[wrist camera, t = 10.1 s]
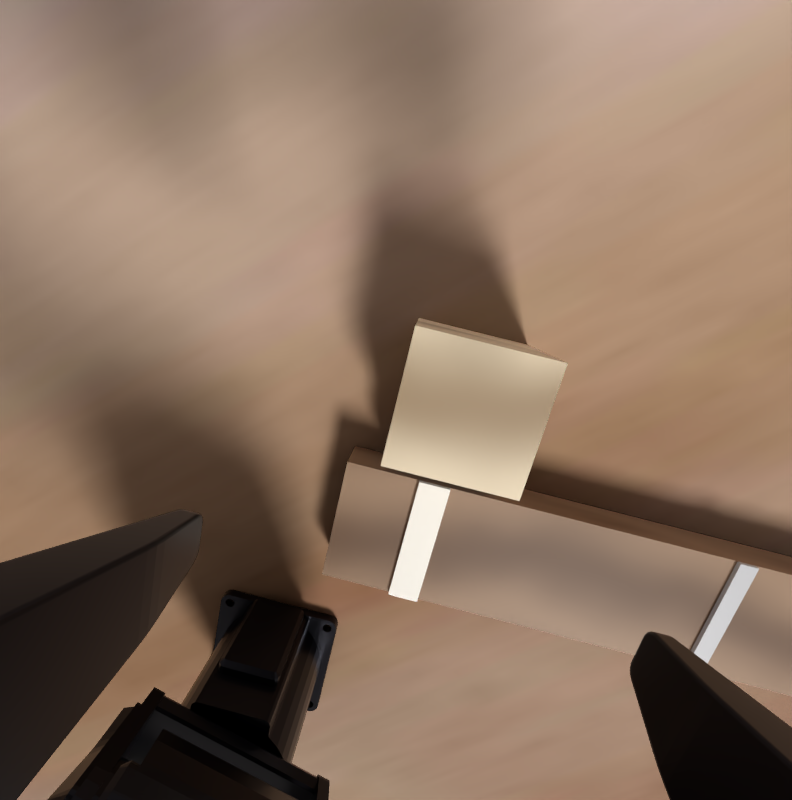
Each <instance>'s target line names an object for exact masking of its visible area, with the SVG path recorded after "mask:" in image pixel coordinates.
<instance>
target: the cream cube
mask: <svg viewBox="0 0 792 800" xmlns="http://www.w3.org/2000/svg"><path fill="white" fill-rule="evenodd" d="M567 364H568V363H566V362H564V361H562V360H560V359H558V358H555V357H553V356H551V355H549V354H547V353H545V352H542V351H540V350H538V349H536V348H534V347H531V346H529V345H527V344H523V343H519V342H515V341H511V340H507V339H503V338H499V337H495V336H491V335H486V334H482V333H478V332H474V331H470V330H466V329H462V328H458V327H454V326H450V325H446V324H442V323H438V322H434V321H430V320H426V319H422V318H419V319H418V321H417V323H416V325H415V329H414V333H413V337H412V341H411V345H410V349H409V353H408V357H407V361H406V365H405V369H404V373H403V377H402V381H401V385H400V389H399V393H398V397H397V401H396V405H395V410H394V414H393V418H392V422H391V426H390V430H389V434H388V438H387V442H386V446H385V450H384V454H383V458H382V462H381V466H383V467H387V468H391V469H395V470H399V471H403V472H407V473H410V474H414V475H418V476H422V477H426V478H430V479H434V480H438V481H442V482H446V483H450V484H454V485H458V486H462V487H466V488H470V489H473V490H477V491H481V492H485V493H489V494H493V495H497V496H501V497H505V498H509V499H513V500H517V501H520V498H521V495H522V493H523V490H524V487H525V484H526V481H527V478H528V475H529V473H530V470H531V467H532V464H533V461H534V458H535V456H536V453H537V450H538V447H539V444H540V441H541V438H542V436H543V433H544V430H545V427H546V424H547V421H548V418H549V416H550V413H551V410H552V407H553V404H554V401H555V398H556V396H557V393H558V390H559V387H560V384H561V381H562V378H563V376H564V373H565V370H566V367H567Z"/></svg>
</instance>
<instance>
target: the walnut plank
mask: <svg viewBox="0 0 792 800" xmlns="http://www.w3.org/2000/svg"><path fill="white" fill-rule="evenodd" d="M383 454H384V453H381V452H377V451H373V450H369V449H365V448H361V447H357V446H355V448H354V450H353V452H352V454H351V456H350V458H349V460H348V462H347V466H346V470H345V475H344V479H343V484H342V488H341V492H340V497H339V501H338V506H337V510H336V515H335V519H334V524H333V528H332V533H331V537H330V542H329V546H328V550H327V555H326V559H325V564H324V568H323V573H322V574H323V575H327V576H331V577H335V578H338V579H342V580H346V581H350V582H354V583H358V584H361V585H365V586H369V587H373V588H377V589H381V590H384V591H388V592H389V593H388V595H392V596H396V597H400V598H404V599H407V600H411V601H415V602H417V600H418V599H419V600H423V601H427V602H431V603H434V604H438V605H442V606H446V607H450V608H454V609H458V610H461V611H465V612H469V613H473V614H477V615H481V616H484V617H488V618H492V619H496V620H500V621H504V622H507V623H511V624H515V625H519V626H523V627H527V628H531V629H534V630H538V631H542V632H546V633H550V634H554V635H557V636H561V637H565V638H569V639H573V640H577V641H580V642H584V643H588V644H592V645H596V646H600V647H604V648H607V649H611V650H615V651H619V652H623V653H627V654H630V655H635V653H636V651H637V649H638V647H639V645H640V643H641V641H642V639H643V637H644V635H645V634H646V633H647V632H651V631H653V632H657V633H661V634H665V635H669V636H671V637H673V638H674V639H676V640H677V641H679V642H680V643H681V644H682V645H684V646H685V647H686V648H688V649H689V650H690V651H692V652H693V653H694V654H696V655H697V656H698V657H700V658H701V659H702V660H704V661H705V662H706V663H707V664H709V665H710V666H711V667H713V668H714V669H715V670H717V671H718V672H719V673H721V674H722V675H723V676H725V677H726V678H727V679H729V680H730V681H734V682H738V683H742V684H746V685H750V686H753V687H757V688H761V689H765V690H769V691H773V692H777V693H780V694H784V695H788V696H792V557H790V556H786V555H782V554H778V553H774V552H770V551H766V550H762V549H758V548H754V547H750V546H746V545H743V544H739V543H735V542H731V541H727V540H723V539H719V538H715V537H711V536H707V535H703V534H699V533H695V532H691V531H687V530H684V529H680V528H676V527H672V526H668V525H664V524H660V523H656V522H652V521H648V520H644V519H640V518H636V517H632V516H628V515H625V514H621V513H617V512H613V511H609V510H605V509H601V508H597V507H593V506H589V505H585V504H581V503H577V502H573V501H569V500H566V499H562V498H558V497H554V496H550V495H546V494H542V493H538V492H534V491H530V490H526V489H524V490H523V493H522V495H521V498H520V501H517V500H513V499H509V498H505V497H501V496H497V495H493V494H489V493H485V492H481V491H477V490H473V489H470V488H466V487H462V486H458V485H454V484H450V483H446V482H442V481H438V480H434V479H430V478H426V477H422V476H418V475H414V474H410V473H407V472H403V471H399V470H395V469H391V468H387V467H383V466H381V462H382V458H383Z"/></svg>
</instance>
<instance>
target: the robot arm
mask: <svg viewBox="0 0 792 800" xmlns="http://www.w3.org/2000/svg"><path fill="white" fill-rule="evenodd" d="M202 524H203V518H202V515H201V514H200V513H196V512H192V511H189V510H185V509H180V510H176V511H173V512H169V513H166V514H163V515H159V516H156V517H153V518H149V519H146V520H143V521H139V522H136V523H133V524H129V525H126V526H123V527H119V528H116V529H112V530H109V531H106V532H102V533H99V534H96V535H92V536H89V537H86V538H82V539H79V540H76V541H72V542H69V543H65V544H62V545H59V546H55V547H52V548H49V549H45V550H42V551H39V552H35V553H32V554H29V555H25V556H22V557H18V558H15V559H12V560H8V561H5V562H2V563H0V800H17V798H18V797H19V796H20V794H21V793H22V792H23V791H24V789H25V788H26V787H27V786H28V784H29V783H30V782H31V781H32V779H33V778H34V777H35V776H36V774H37V773H38V772H39V771H40V769H41V768H42V767H43V765H44V764H45V763H46V762H47V760H48V759H49V758H50V757H51V755H52V754H53V753H54V752H55V750H56V749H57V748H58V747H59V745H60V744H61V743H62V741H63V740H64V739H65V738H66V736H67V735H68V734H69V733H70V731H71V730H72V729H73V728H74V726H75V725H76V724H77V723H78V721H79V720H80V719H81V718H82V716H83V715H84V714H85V712H86V711H87V710H88V709H89V707H90V706H91V705H92V704H93V702H94V701H95V700H96V699H97V697H98V696H99V695H100V694H101V692H102V691H103V690H104V688H105V687H106V686H107V685H108V683H109V682H110V681H111V680H112V678H113V677H114V676H115V675H116V673H117V672H118V671H119V670H120V668H121V667H122V666H123V665H124V663H125V662H126V661H127V659H128V658H129V657H130V656H131V654H132V653H133V652H134V651H135V649H136V648H137V647H138V646H139V644H140V643H141V642H142V640H143V639H144V638H145V636H146V635H147V634H148V632H149V631H150V629H151V628H152V626H153V625H154V623H155V622H156V620H157V619H158V617H159V616H160V614H161V613H162V611H163V609H164V608H165V606H166V605H167V603H168V602H169V600H170V599H171V597H172V596H173V594H174V592H175V591H176V589H177V588H178V586H179V585H180V583H181V582H182V580H183V579H184V577H185V575H186V574H187V572H188V571H189V569H190V568H191V566H192V565H193V563H194V561H195V559H196V557H197V554H198V551H199V545H200V538H201V531H202ZM230 599H232V600H233V601H234V602H233V601H231V600H230ZM326 625H330V626H331V627H328V626H326ZM337 625H338V622H337V620H336V619H335V618H334V617H333V616H330V615H327V614H323V613H319V612H315V611H311V610H308V609H304V608H300V607H296V606H292V605H288V604H285V603H281V602H277V601H273V600H269V599H266V598H262V597H258V596H254V595H250V594H246V593H243V592H239V591H235V590H230V591H228V592H226V593H225V595H224V596H223V598H222V600H221V606H220V612H219V619H218V626H217V632H216V639H215V645H214V652H213V653H212V655H211V657H210V658H209V660H208V661H207V663H206V665H205V666H204V668H203V670H202V671H201V673H200V675H199V676H198V678H197V679H196V681H195V683H194V684H193V686H192V688H191V689H190V691H189V693H188V694H187V696H186V698H185V699H184V701H183V702H182V704H179V703H177V702H175V701H174V700H172V699H170V698H168V697H166V696H164V695H165V693H164V692H162V691H161V690H159V689H157V688H155V687H154V689H153V690H152V691H151V693H150V694H149V695H148V697H147V698H146V699H145V701H144V702H143V703H142V704H140V703H137V704H136V705H135V707H128V708H123V710H122V711H121V712H120V714H119V715H118V716H117V718H116V719H115V721H114V722H113V723H112V725H111V726H110V727H109V729H108V730H107V731H106V733H105V734H104V735H103V737H102V738H101V739H100V740H99V742H98V743H97V744H96V746H95V747H94V748H93V749H92V750H91V752H90V753H89V754H88V755H87V756H86V757H85V759H84V760H83V761H82V762H81V763H80V764H79V765H78V766H77V767H76V769H75V770H74V771H73V772H72V773H71V774H70V775H69V776H68V777H67V779H66V780H65V781H64V782H63V783H62V784H61V785H60V786H59V787H58V789H57V790H56V791H55V792H54V793H53V794H52V795H51V796H50V797H49V799H48V800H328V797H329V780H327V779H325V778H324V777H322V776H320V775H317V777H316V776H314V775H312V774H310V773H309V772H307V771H305V770H303V769H301V768H299V767H297V766H295V765H294V764H292V759H293V756H294V753H295V749H296V746H297V743H298V739H299V736H300V732H301V729H302V726H303V722H304V719H305V716H306V712H307V711H313V710H315V709H316V708H317V706H318V703H319V699H320V695H321V691H322V687H323V683H324V678H325V674H326V670H327V666H328V662H329V658H330V654H331V650H332V646H333V642H334V638H335V634H336V629H337ZM630 675H631V680H632V683H633V687H634V690H635V693H636V697H637V700H638V703H639V707H640V710H641V714H642V717H643V720H644V724H645V727H646V730H647V734H648V737H649V740H650V744H651V747H652V750H653V754H654V757H655V760H656V763H657V766H658V769H659V772H660V775H661V778H662V780H663V783H664V786H665V788H666V791H667V794H668V796H669V799H670V800H792V727H790V726H789V725H788V724H786V723H785V722H784V721H782V720H781V719H780V718H779V717H777V716H776V715H775V714H773V713H772V712H771V711H769V710H768V709H767V708H765V707H764V706H763V705H761V704H760V703H759V702H757V701H756V700H755V699H754V698H752V697H751V696H750V695H748V694H747V693H746V692H744V691H743V690H742V689H740V688H739V687H738V686H736V685H735V684H734V683H732V682H731V681H730V680H729V679H727V678H726V677H725V676H723V675H722V674H721V673H719V672H718V671H717V670H715V669H714V668H713V667H711V666H710V665H709V664H707V663H706V662H705V661H704V660H702V659H701V658H700V657H698V656H697V655H696V654H694V653H693V652H692V651H690V650H689V649H688V648H686V647H685V646H684V645H682V644H681V643H680V642H679V641H677V640H676V639H674V638H673V637H671V636H669V635H665V634H661V633H657V632H653V631H651V632H647V633H646V634H645V635H644V637H643V639H642V641H641V643H640V645H639V647H638V649H637V651H636V653H635V655H634V658H633V660H632V662H631V666H630Z"/></svg>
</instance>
